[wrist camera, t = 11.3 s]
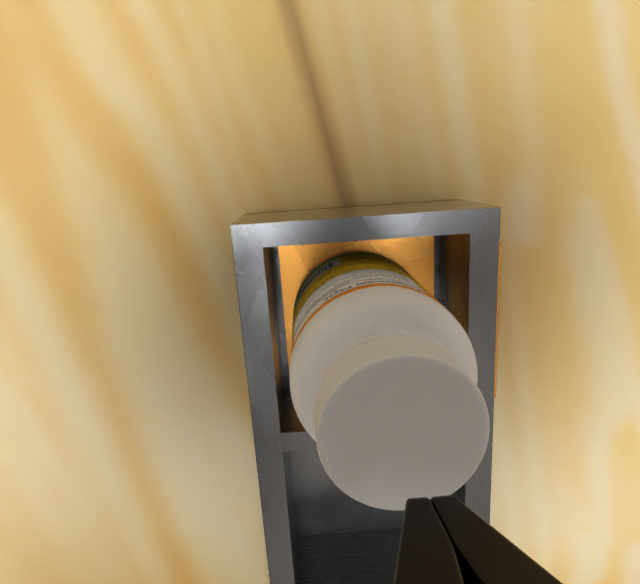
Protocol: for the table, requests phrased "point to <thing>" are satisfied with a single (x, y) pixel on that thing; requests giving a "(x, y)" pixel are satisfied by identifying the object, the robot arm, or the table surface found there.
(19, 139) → the table surface
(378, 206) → the compartment organizer tray
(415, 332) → the supplement bottle
